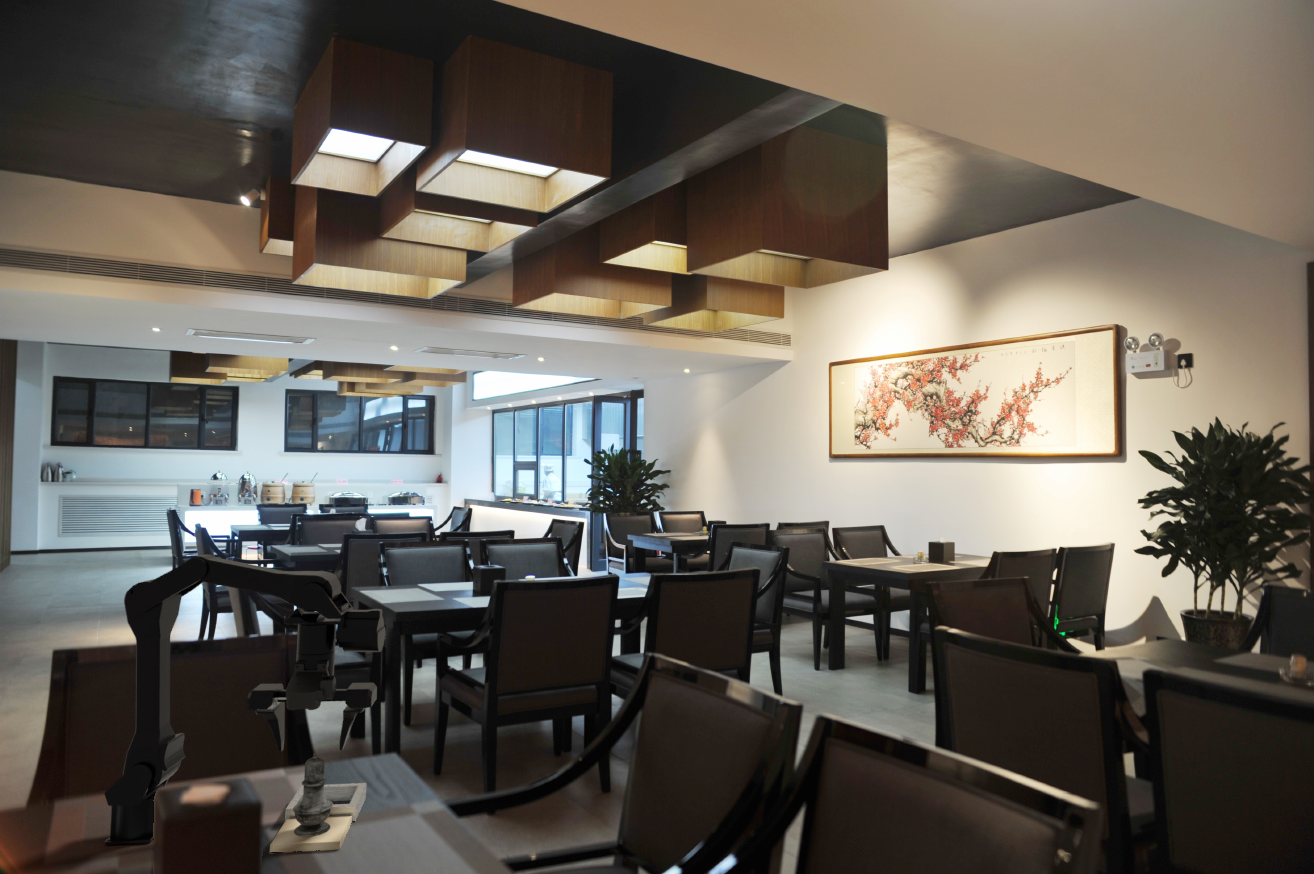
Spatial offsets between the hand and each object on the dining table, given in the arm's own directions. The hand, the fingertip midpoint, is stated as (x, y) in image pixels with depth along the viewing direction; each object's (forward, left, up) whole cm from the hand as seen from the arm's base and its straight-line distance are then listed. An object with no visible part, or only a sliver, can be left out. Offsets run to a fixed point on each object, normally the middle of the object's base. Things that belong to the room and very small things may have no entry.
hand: (311, 750), depth 136 cm
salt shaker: (+1, -2, -12) cm, 12 cm away
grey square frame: (+1, +9, -13) cm, 16 cm away
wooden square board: (+1, -2, -13) cm, 13 cm away
